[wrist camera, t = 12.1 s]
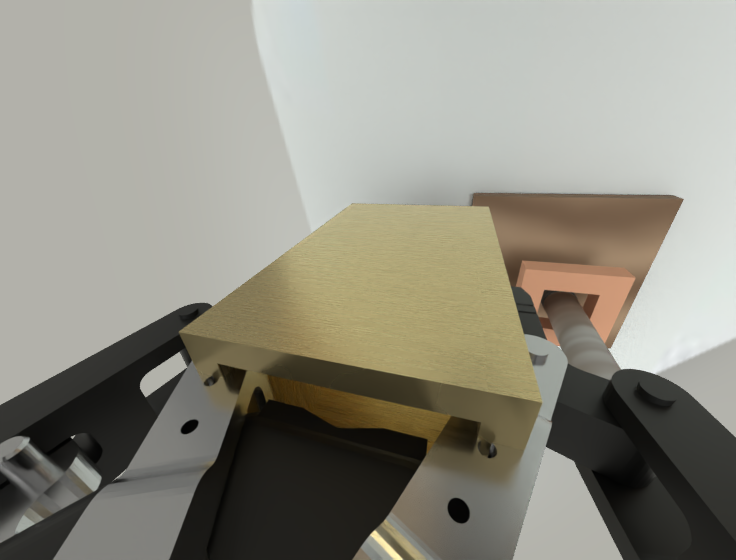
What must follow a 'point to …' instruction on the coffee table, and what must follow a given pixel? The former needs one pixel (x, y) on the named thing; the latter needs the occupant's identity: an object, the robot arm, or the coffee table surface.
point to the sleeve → (384, 326)
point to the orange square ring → (579, 290)
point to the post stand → (581, 254)
